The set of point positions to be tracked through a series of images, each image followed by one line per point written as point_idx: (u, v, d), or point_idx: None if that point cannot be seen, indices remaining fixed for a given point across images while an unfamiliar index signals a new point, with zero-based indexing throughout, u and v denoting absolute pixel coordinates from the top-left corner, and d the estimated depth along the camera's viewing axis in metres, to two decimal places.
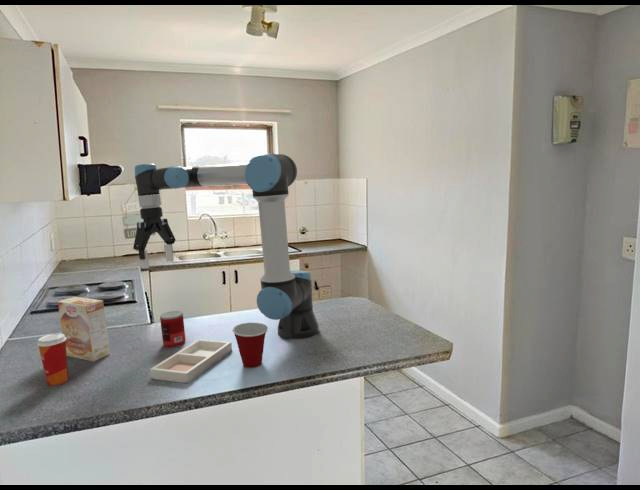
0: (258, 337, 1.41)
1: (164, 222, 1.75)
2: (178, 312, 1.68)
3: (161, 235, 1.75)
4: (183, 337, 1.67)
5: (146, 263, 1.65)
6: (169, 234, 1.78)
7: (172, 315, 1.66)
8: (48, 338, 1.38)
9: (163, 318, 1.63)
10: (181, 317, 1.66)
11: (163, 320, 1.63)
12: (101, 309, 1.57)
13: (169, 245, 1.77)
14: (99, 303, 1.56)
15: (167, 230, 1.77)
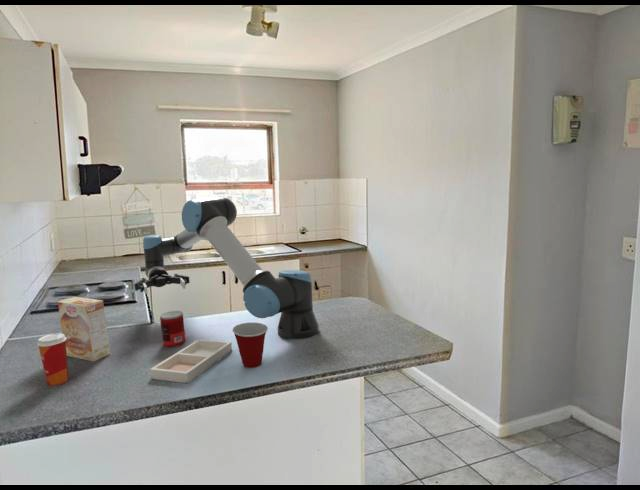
0: (258, 337, 1.41)
1: (174, 275, 1.89)
2: (178, 312, 1.68)
3: (173, 281, 1.84)
4: (183, 337, 1.67)
5: (144, 287, 1.72)
6: (181, 277, 1.85)
7: (172, 315, 1.66)
8: (48, 338, 1.38)
9: (163, 318, 1.63)
10: (181, 317, 1.66)
11: (163, 320, 1.63)
12: (101, 309, 1.57)
13: (180, 279, 1.81)
14: (99, 303, 1.56)
15: (179, 277, 1.87)
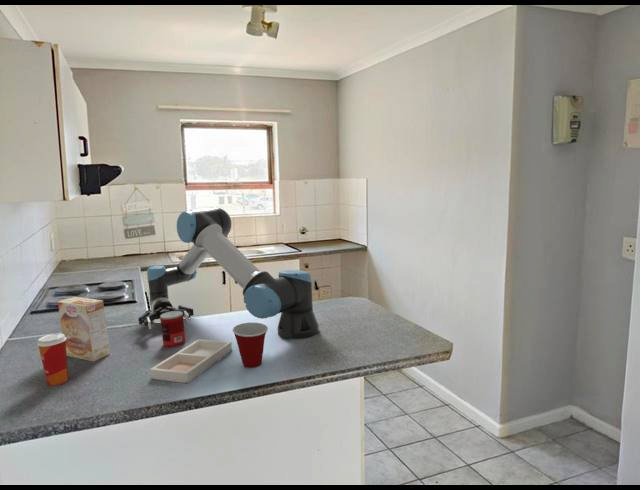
0: (258, 337, 1.41)
1: (178, 307, 1.88)
2: (178, 312, 1.68)
3: None
4: (183, 337, 1.67)
5: (148, 321, 1.71)
6: (185, 310, 1.85)
7: (172, 315, 1.66)
8: (48, 338, 1.38)
9: (163, 318, 1.63)
10: (181, 317, 1.66)
11: (163, 320, 1.63)
12: (101, 309, 1.57)
13: (184, 312, 1.80)
14: (99, 303, 1.56)
15: (183, 309, 1.86)
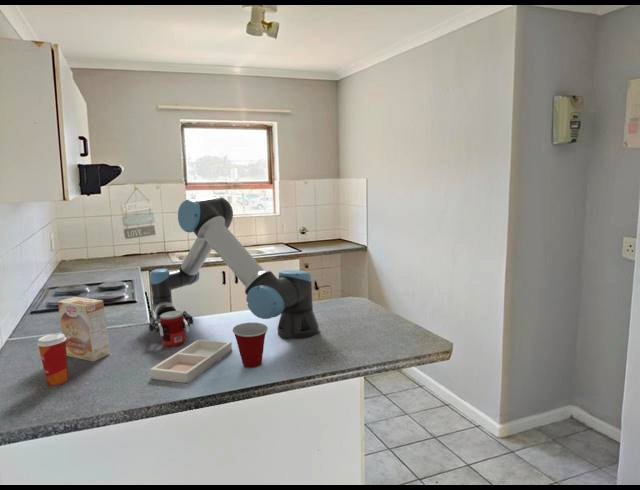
0: (258, 337, 1.41)
1: None
2: (178, 312, 1.68)
3: None
4: (183, 337, 1.67)
5: (159, 328, 1.62)
6: None
7: (172, 315, 1.66)
8: (48, 338, 1.38)
9: (163, 318, 1.63)
10: (181, 317, 1.66)
11: (163, 320, 1.63)
12: (101, 309, 1.57)
13: None
14: (99, 303, 1.56)
15: (185, 316, 1.76)
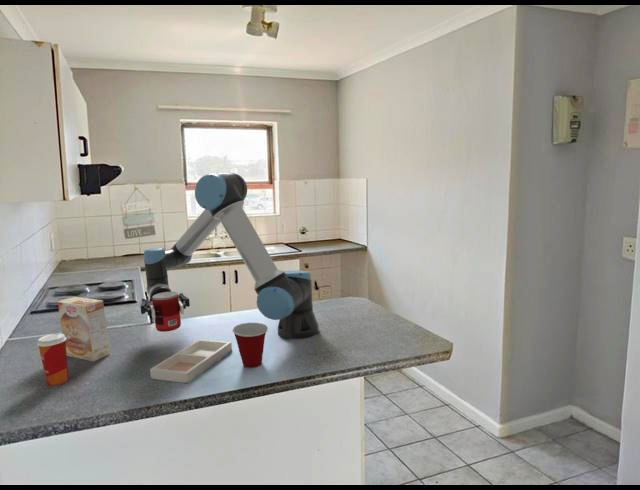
0: (258, 337, 1.41)
1: None
2: (173, 293, 1.51)
3: None
4: (178, 321, 1.49)
5: (151, 310, 1.44)
6: None
7: (166, 296, 1.48)
8: (48, 338, 1.38)
9: (155, 299, 1.45)
10: (176, 298, 1.48)
11: (155, 301, 1.45)
12: (101, 309, 1.57)
13: None
14: (99, 303, 1.56)
15: (181, 298, 1.58)
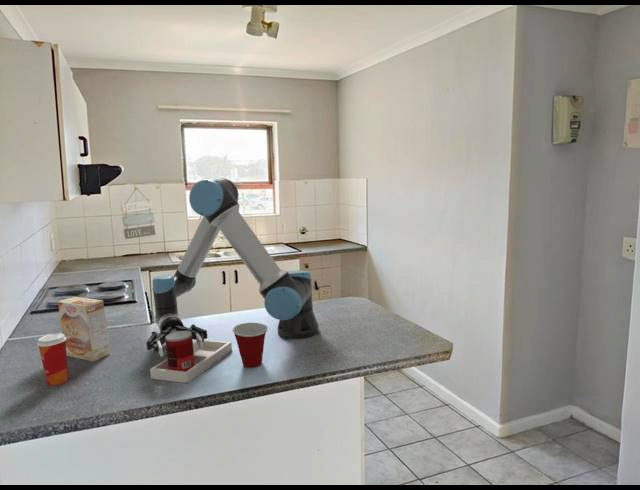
0: (258, 337, 1.41)
1: None
2: (186, 332, 1.44)
3: None
4: (192, 362, 1.42)
5: (159, 347, 1.37)
6: (198, 331, 1.50)
7: (179, 336, 1.41)
8: (48, 338, 1.38)
9: (169, 340, 1.38)
10: (190, 338, 1.41)
11: (169, 342, 1.38)
12: (101, 309, 1.57)
13: (196, 335, 1.46)
14: (99, 303, 1.56)
15: (195, 330, 1.52)
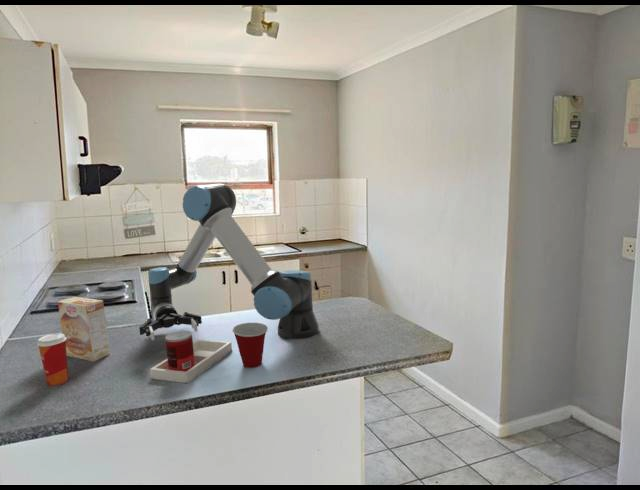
0: (258, 337, 1.41)
1: None
2: (186, 333, 1.44)
3: (183, 321, 1.62)
4: (192, 362, 1.42)
5: (150, 331, 1.50)
6: None
7: (179, 336, 1.41)
8: (48, 338, 1.38)
9: (169, 340, 1.38)
10: (190, 339, 1.41)
11: (169, 343, 1.38)
12: (101, 309, 1.57)
13: (191, 320, 1.59)
14: (99, 303, 1.56)
15: (189, 316, 1.64)
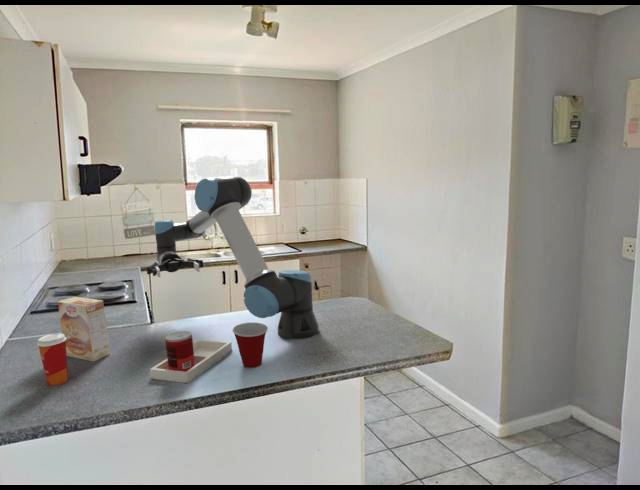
0: (258, 337, 1.41)
1: (187, 260, 1.82)
2: (186, 333, 1.44)
3: (186, 265, 1.77)
4: (192, 362, 1.42)
5: (157, 270, 1.65)
6: (195, 261, 1.79)
7: (179, 336, 1.41)
8: (48, 338, 1.38)
9: (169, 340, 1.38)
10: (190, 339, 1.41)
11: (169, 343, 1.38)
12: (101, 309, 1.57)
13: (193, 263, 1.74)
14: (99, 303, 1.56)
15: None
